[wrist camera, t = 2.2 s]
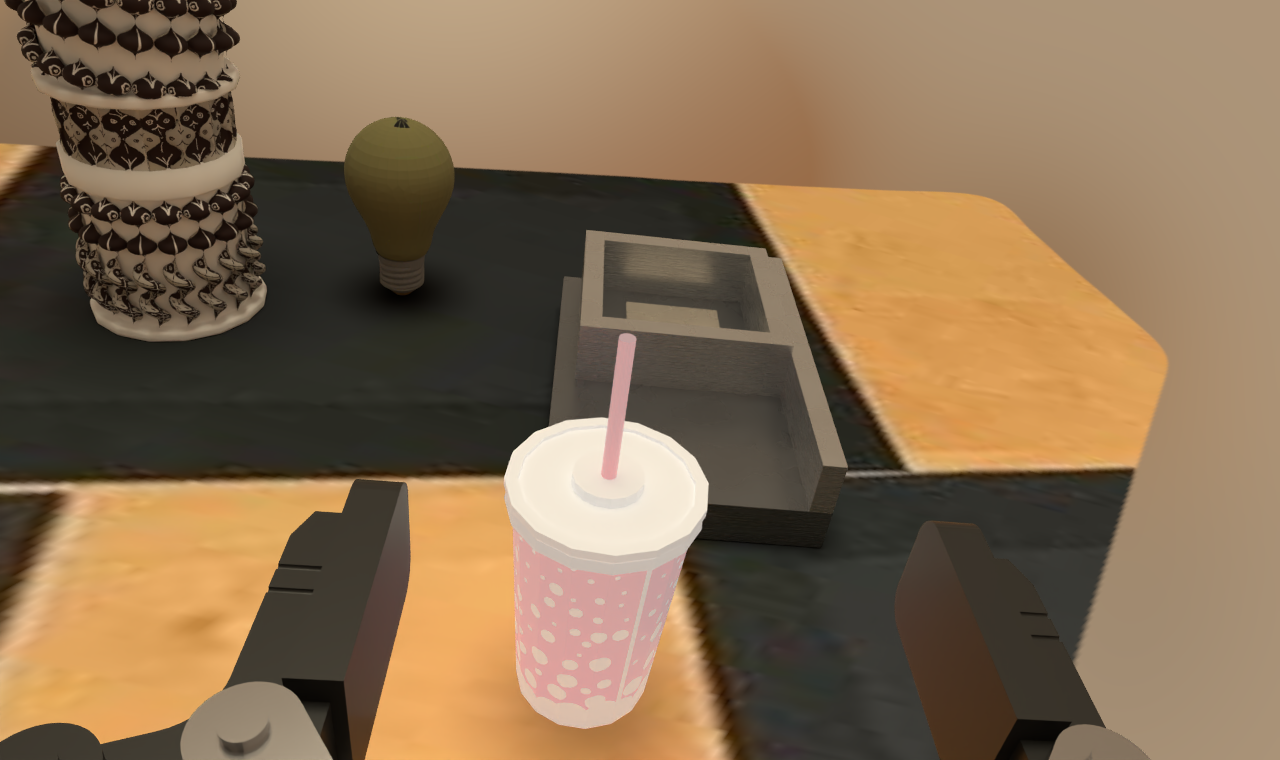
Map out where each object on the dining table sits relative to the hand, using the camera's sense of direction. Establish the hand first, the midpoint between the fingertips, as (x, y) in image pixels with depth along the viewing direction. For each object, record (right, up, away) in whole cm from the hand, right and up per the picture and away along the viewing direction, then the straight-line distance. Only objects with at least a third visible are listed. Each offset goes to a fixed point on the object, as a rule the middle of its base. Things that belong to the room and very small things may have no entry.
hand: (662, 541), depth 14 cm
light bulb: (-14, +7, +38) cm, 41 cm away
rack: (+1, +1, +31) cm, 31 cm away
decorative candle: (-25, +7, +34) cm, 43 cm away
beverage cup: (-2, -8, +18) cm, 20 cm away
